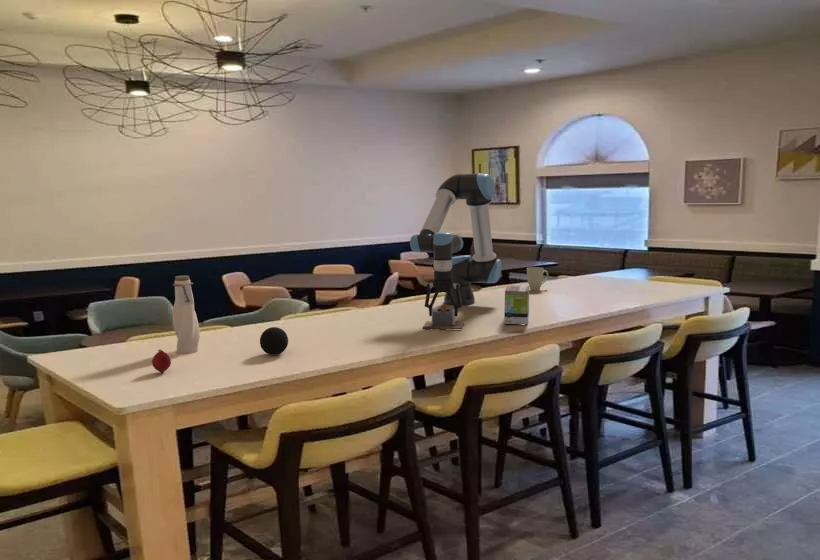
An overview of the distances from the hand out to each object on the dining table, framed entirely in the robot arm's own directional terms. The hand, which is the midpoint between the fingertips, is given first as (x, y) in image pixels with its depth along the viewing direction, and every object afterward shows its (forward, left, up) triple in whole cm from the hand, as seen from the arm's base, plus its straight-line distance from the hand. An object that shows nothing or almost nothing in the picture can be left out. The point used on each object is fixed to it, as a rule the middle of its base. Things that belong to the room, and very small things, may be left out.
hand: (443, 323), depth 283 cm
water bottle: (+49, -89, -1) cm, 102 cm away
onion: (+76, -84, -1) cm, 113 cm away
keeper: (0, 0, -1) cm, 1 cm away
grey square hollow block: (0, 0, 0) cm, 0 cm away
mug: (-94, +39, -1) cm, 102 cm away
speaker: (+50, -55, -1) cm, 74 cm away
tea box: (-13, +30, -2) cm, 33 cm away
